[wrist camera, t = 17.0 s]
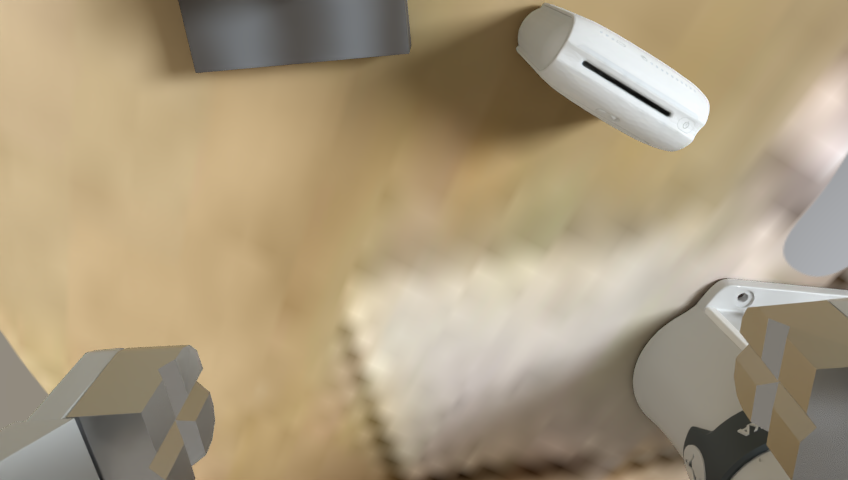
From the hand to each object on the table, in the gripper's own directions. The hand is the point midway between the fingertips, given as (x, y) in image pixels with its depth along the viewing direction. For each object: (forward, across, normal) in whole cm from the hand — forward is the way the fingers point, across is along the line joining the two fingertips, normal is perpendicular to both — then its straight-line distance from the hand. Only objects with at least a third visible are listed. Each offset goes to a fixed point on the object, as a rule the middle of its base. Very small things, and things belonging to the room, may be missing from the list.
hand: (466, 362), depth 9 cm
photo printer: (+37, +10, -2) cm, 39 cm away
